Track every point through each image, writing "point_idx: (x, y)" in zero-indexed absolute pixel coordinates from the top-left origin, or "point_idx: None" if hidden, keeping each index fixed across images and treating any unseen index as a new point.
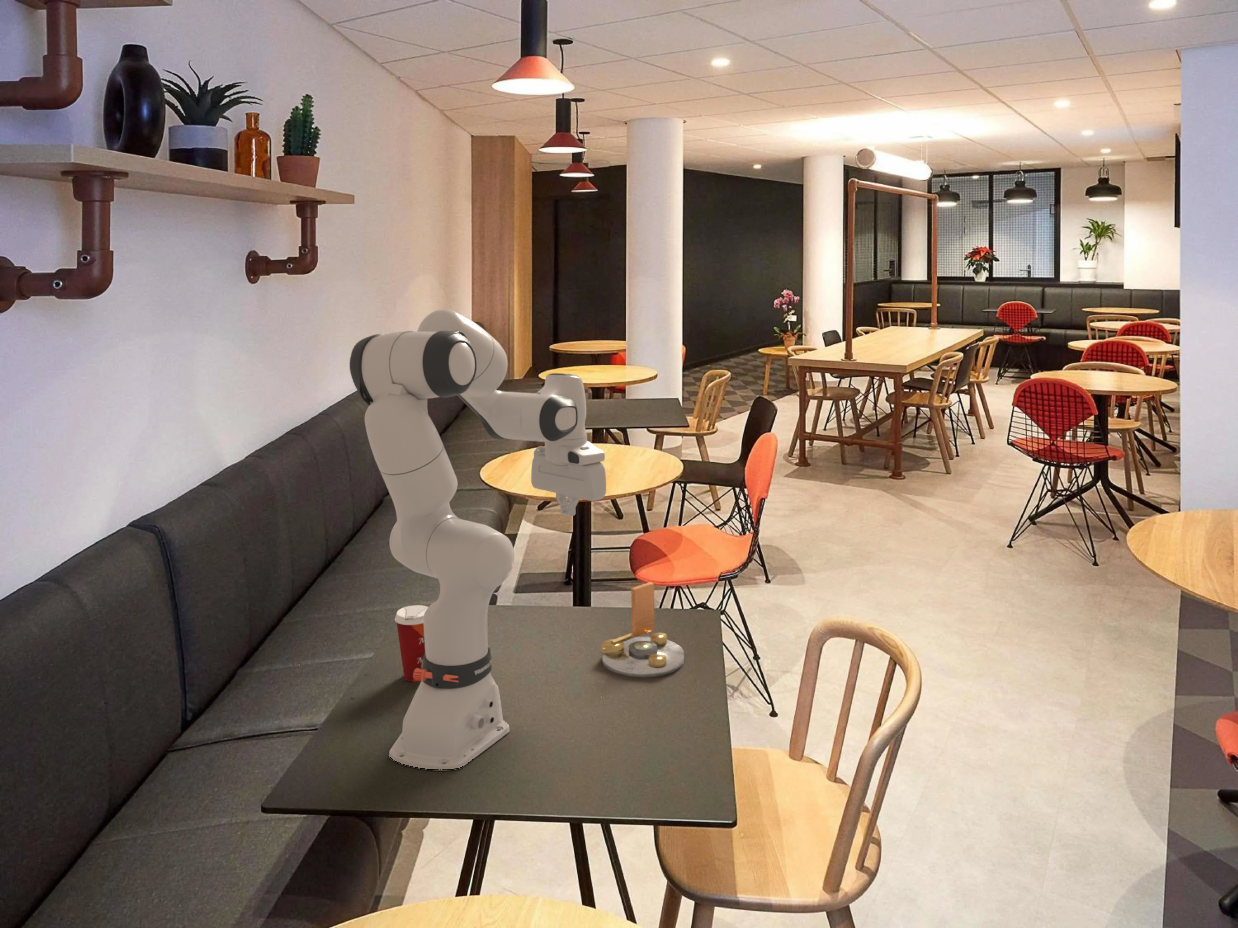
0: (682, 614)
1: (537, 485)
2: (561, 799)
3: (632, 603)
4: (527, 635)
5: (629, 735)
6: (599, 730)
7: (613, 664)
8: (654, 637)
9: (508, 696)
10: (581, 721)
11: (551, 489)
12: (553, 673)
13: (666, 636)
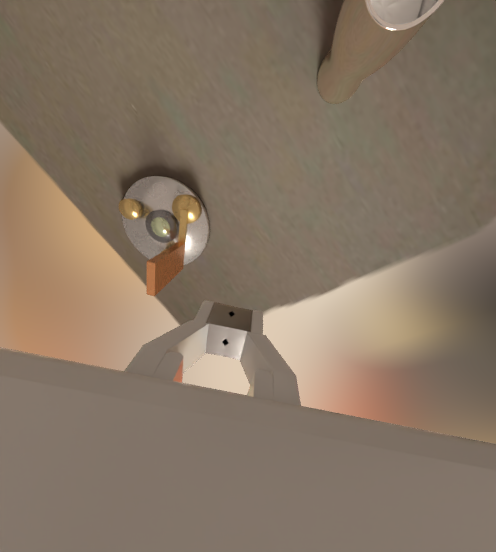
0: None
1: None
2: None
3: (164, 254)
4: (317, 210)
5: (33, 26)
6: (64, 8)
7: (167, 180)
8: None
9: (224, 9)
10: (97, 16)
11: (340, 434)
12: (222, 129)
13: None
